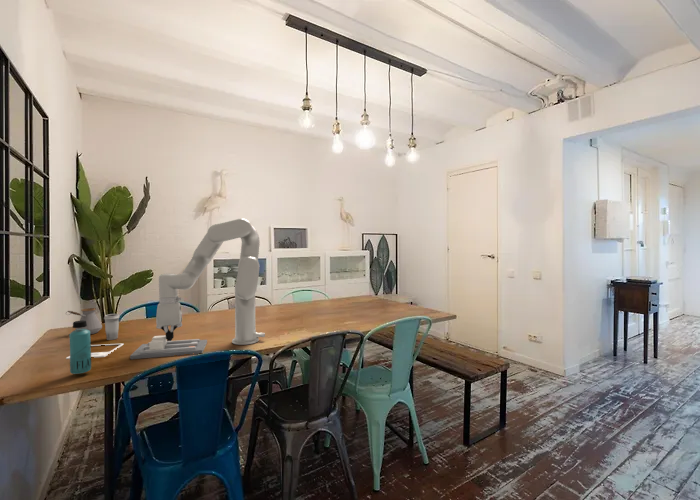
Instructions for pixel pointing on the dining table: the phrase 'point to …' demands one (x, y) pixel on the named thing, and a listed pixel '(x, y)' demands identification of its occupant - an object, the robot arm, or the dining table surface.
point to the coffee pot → (89, 320)
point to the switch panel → (171, 349)
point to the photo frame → (102, 354)
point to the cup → (111, 326)
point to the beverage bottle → (80, 348)
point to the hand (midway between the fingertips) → (169, 340)
